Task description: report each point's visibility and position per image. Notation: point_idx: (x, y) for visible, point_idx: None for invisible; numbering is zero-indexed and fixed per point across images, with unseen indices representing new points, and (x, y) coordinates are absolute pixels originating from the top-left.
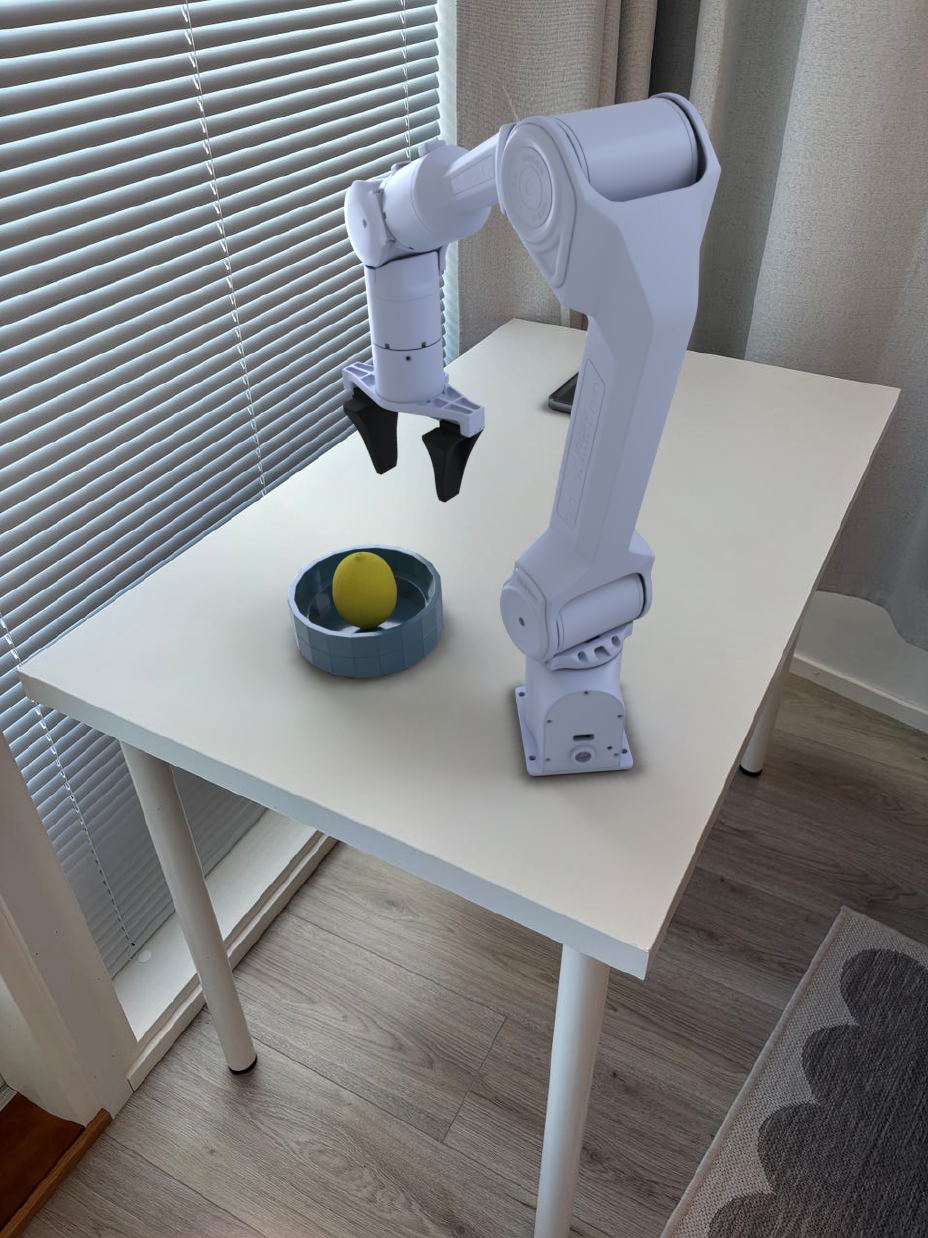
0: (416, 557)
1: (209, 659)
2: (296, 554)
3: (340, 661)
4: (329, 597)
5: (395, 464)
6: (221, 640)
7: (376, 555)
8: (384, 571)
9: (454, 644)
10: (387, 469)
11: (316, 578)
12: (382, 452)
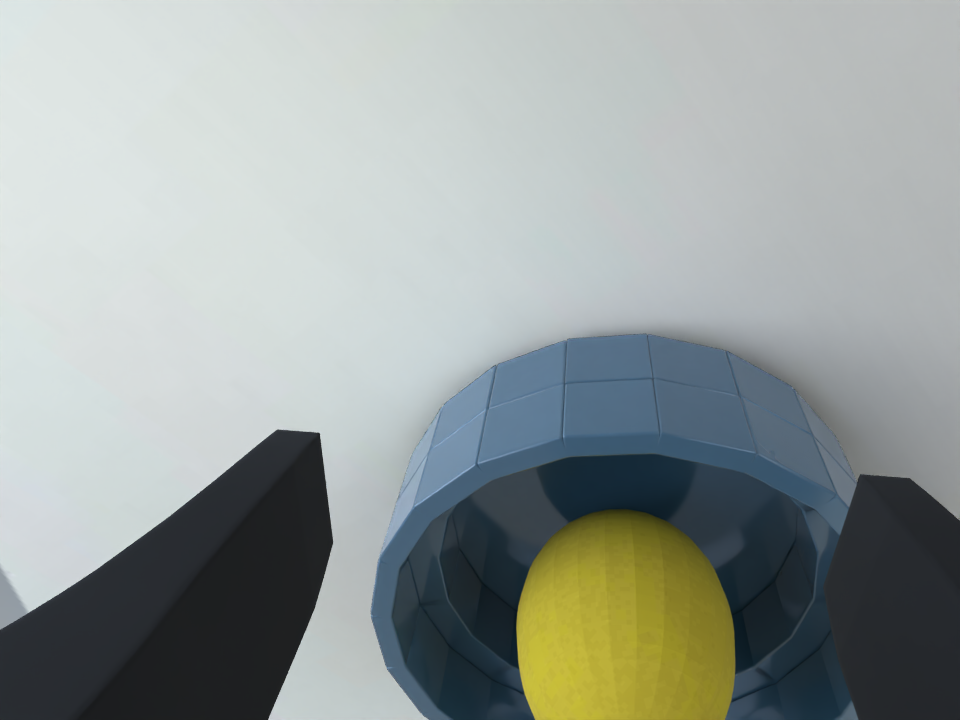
0: (676, 456)
1: (373, 709)
2: (147, 367)
3: None
4: (447, 528)
5: (315, 449)
6: (338, 668)
7: (646, 695)
8: (716, 706)
9: (884, 437)
10: (324, 508)
11: (406, 587)
12: (275, 629)
